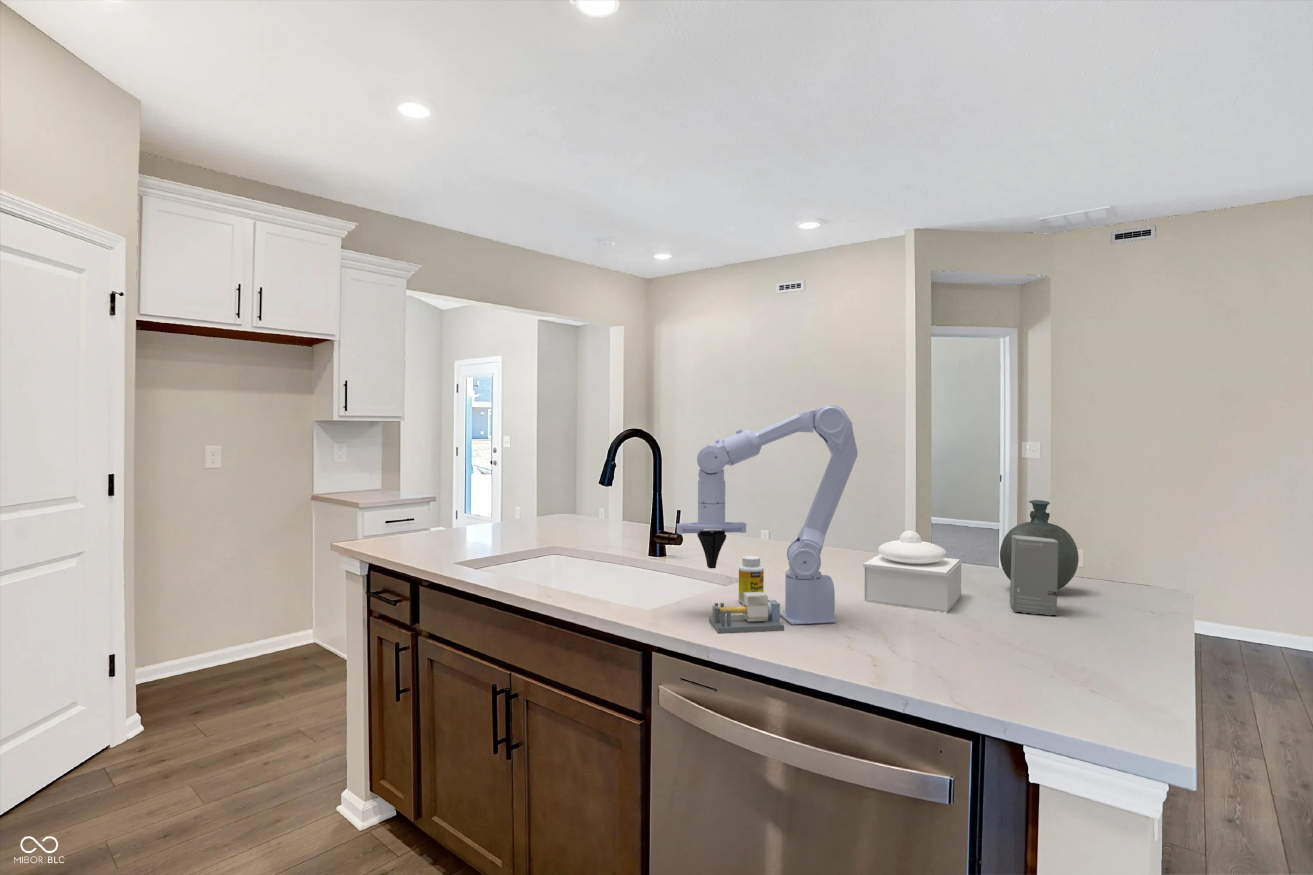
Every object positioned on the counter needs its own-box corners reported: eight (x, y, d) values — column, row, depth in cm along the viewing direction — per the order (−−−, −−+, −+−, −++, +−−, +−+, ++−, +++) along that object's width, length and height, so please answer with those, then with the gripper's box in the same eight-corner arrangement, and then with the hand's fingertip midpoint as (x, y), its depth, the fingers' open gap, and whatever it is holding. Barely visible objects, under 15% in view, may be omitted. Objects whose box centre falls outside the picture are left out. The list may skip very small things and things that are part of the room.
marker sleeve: (762, 615, 132) (762, 591, 132) (767, 620, 128) (767, 596, 128) (742, 616, 131) (742, 592, 131) (748, 621, 127) (748, 596, 127)
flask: (1085, 601, 148) (1086, 504, 148) (1001, 594, 154) (1001, 501, 154) (1075, 589, 159) (1075, 499, 159) (996, 583, 165) (996, 496, 165)
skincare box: (1013, 613, 138) (1013, 538, 138) (1009, 605, 145) (1009, 533, 145) (1059, 617, 135) (1059, 540, 135) (1053, 608, 142) (1053, 535, 142)
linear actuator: (771, 618, 134) (771, 596, 134) (784, 630, 126) (784, 607, 126) (709, 621, 132) (709, 599, 132) (718, 633, 124) (718, 609, 124)
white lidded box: (961, 596, 153) (961, 528, 153) (946, 614, 138) (947, 539, 138) (884, 587, 163) (884, 523, 163) (863, 602, 148) (863, 532, 148)
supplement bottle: (750, 607, 143) (750, 560, 143) (733, 601, 148) (733, 556, 148) (768, 603, 146) (768, 557, 146) (752, 598, 151) (752, 554, 151)
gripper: (739, 500, 142) (739, 562, 142) (674, 501, 140) (673, 564, 140) (749, 503, 135) (749, 569, 135) (680, 504, 133) (680, 571, 133)
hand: (711, 567), depth 137 cm, fingers closed
